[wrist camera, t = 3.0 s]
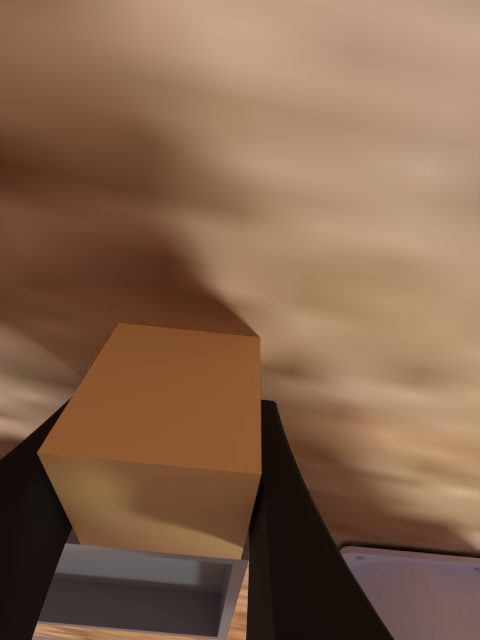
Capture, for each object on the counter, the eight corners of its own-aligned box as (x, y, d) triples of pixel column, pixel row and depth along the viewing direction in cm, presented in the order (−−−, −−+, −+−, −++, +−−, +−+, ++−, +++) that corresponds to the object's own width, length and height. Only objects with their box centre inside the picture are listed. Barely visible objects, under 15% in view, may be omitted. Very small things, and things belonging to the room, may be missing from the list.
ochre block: (260, 336, 10) (261, 473, 6) (245, 425, 13) (240, 559, 9) (118, 322, 10) (37, 452, 6) (133, 414, 13) (80, 545, 9)
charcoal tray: (250, 487, 16) (248, 560, 13) (229, 583, 24) (225, 640, 21) (-162, 447, 15) (-243, 514, 13) (-42, 559, 23) (-77, 613, 21)
